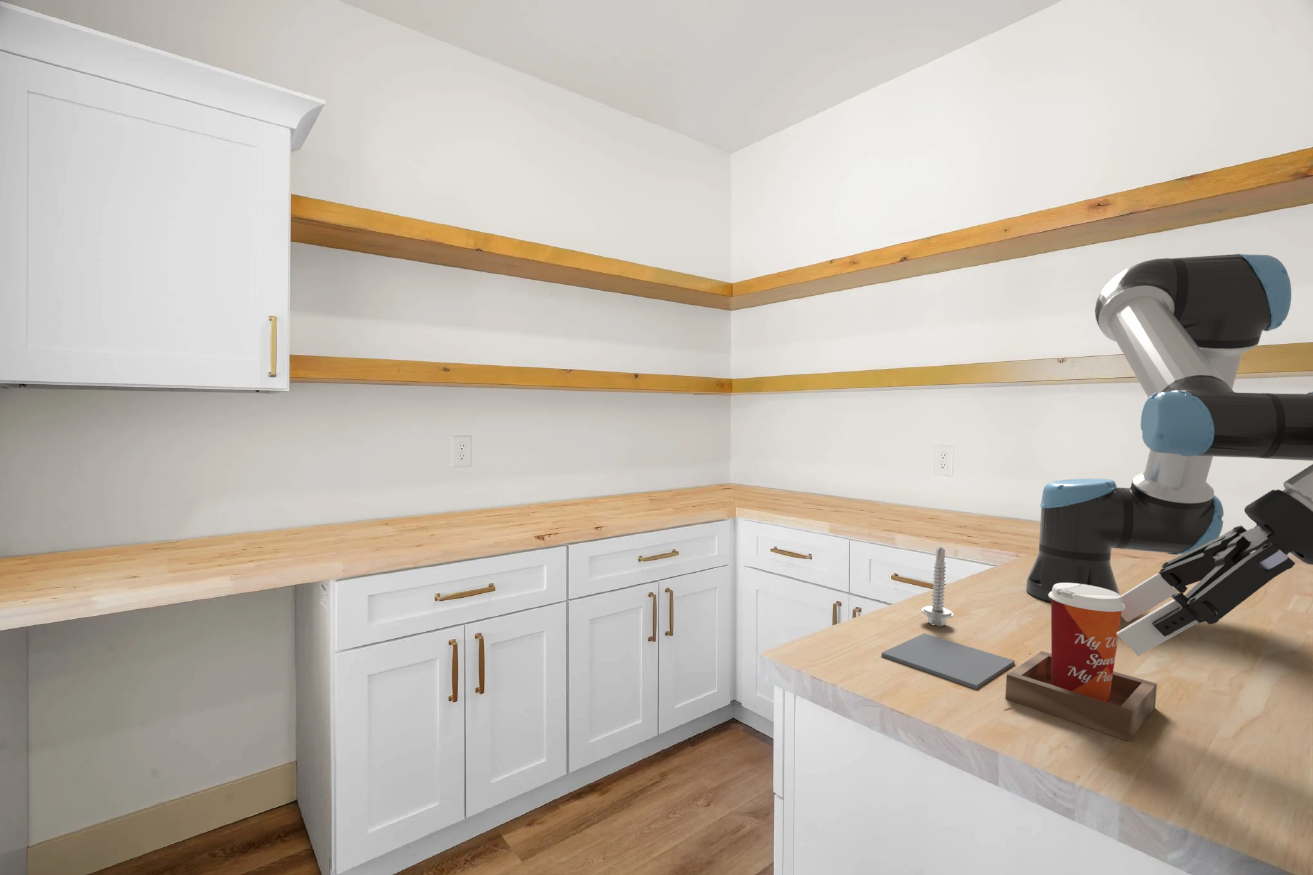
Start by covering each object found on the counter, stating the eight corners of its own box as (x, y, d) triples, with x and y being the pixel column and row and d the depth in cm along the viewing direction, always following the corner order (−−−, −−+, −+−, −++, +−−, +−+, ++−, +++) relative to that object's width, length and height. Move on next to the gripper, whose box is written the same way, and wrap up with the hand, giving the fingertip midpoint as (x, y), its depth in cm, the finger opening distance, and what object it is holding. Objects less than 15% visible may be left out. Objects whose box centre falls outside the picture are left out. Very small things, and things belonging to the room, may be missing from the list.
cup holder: (1040, 672, 84) (1041, 651, 84) (1155, 707, 75) (1156, 683, 74) (1005, 698, 76) (1006, 674, 76) (1129, 741, 66) (1131, 714, 66)
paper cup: (1084, 722, 70) (1091, 601, 70) (1027, 691, 78) (1034, 582, 77) (1135, 714, 73) (1143, 598, 72) (1075, 686, 80) (1082, 580, 79)
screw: (958, 626, 102) (941, 631, 99) (931, 617, 106) (914, 621, 103) (963, 548, 101) (946, 551, 98) (935, 542, 105) (918, 545, 103)
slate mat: (924, 636, 96) (924, 633, 96) (1014, 663, 87) (1014, 660, 87) (881, 655, 88) (881, 652, 88) (976, 689, 78) (976, 685, 78)
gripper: (1407, 567, 51) (1164, 694, 60) (1308, 526, 72) (1139, 625, 81) (1320, 497, 54) (1100, 629, 63) (1249, 477, 75) (1091, 578, 84)
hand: (1121, 627), depth 72 cm, fingers open, 13 cm apart
